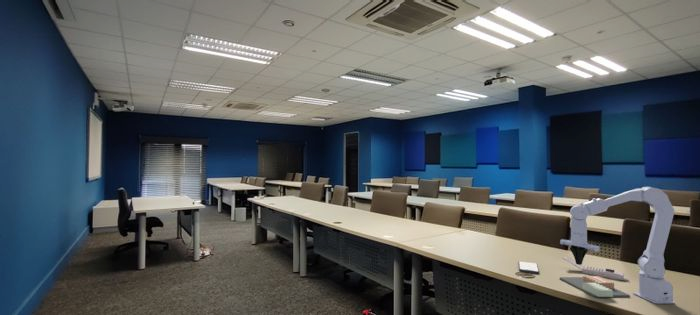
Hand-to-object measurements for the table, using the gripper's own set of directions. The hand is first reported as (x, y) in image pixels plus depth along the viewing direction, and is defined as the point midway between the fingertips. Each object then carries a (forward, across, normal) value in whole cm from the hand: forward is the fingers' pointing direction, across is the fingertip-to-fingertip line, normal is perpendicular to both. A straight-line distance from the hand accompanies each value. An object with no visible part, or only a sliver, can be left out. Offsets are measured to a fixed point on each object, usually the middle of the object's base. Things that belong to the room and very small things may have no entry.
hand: (579, 264), depth 138 cm
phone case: (+10, +25, -3) cm, 27 cm away
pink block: (+9, -5, -5) cm, 12 cm away
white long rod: (+10, +5, -24) cm, 26 cm away
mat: (+9, -4, -3) cm, 10 cm away
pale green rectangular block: (+9, -9, +4) cm, 13 cm away
